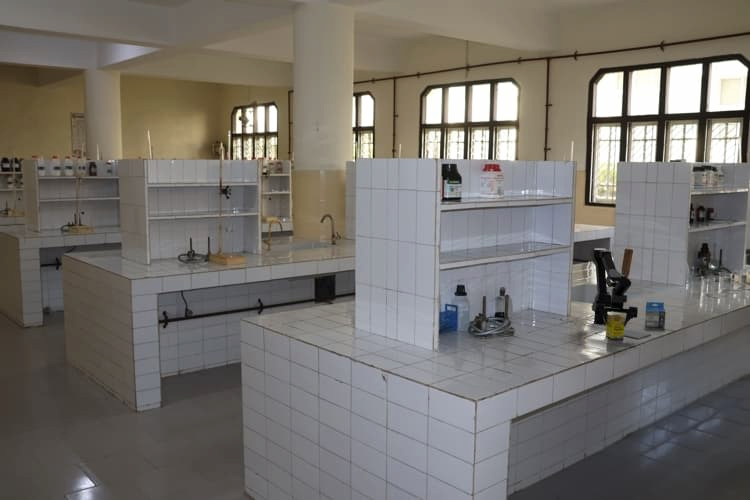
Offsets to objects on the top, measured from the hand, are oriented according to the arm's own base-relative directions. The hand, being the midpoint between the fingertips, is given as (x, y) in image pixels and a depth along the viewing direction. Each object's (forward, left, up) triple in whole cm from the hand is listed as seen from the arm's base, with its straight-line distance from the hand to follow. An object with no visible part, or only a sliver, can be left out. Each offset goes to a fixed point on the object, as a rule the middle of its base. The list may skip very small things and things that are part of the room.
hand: (615, 325), depth 316 cm
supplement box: (0, +1, -7) cm, 7 cm away
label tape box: (+18, +35, -7) cm, 40 cm away
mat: (+8, +12, -7) cm, 16 cm away
